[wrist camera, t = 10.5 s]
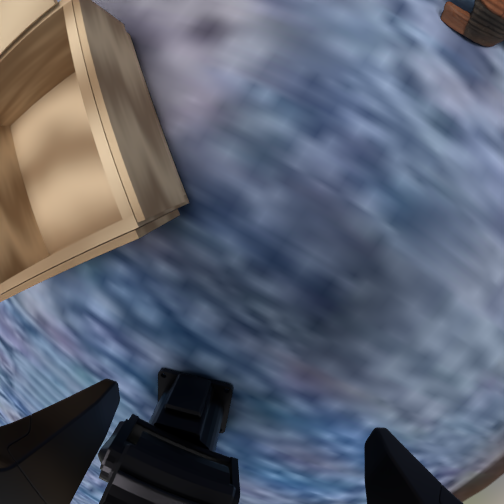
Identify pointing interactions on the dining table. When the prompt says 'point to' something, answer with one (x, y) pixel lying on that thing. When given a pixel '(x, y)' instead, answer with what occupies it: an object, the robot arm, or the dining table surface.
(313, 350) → the dining table surface
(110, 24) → the tan wooden open box
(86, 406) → the robot arm
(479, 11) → the brown wooden arch
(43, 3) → the flap
